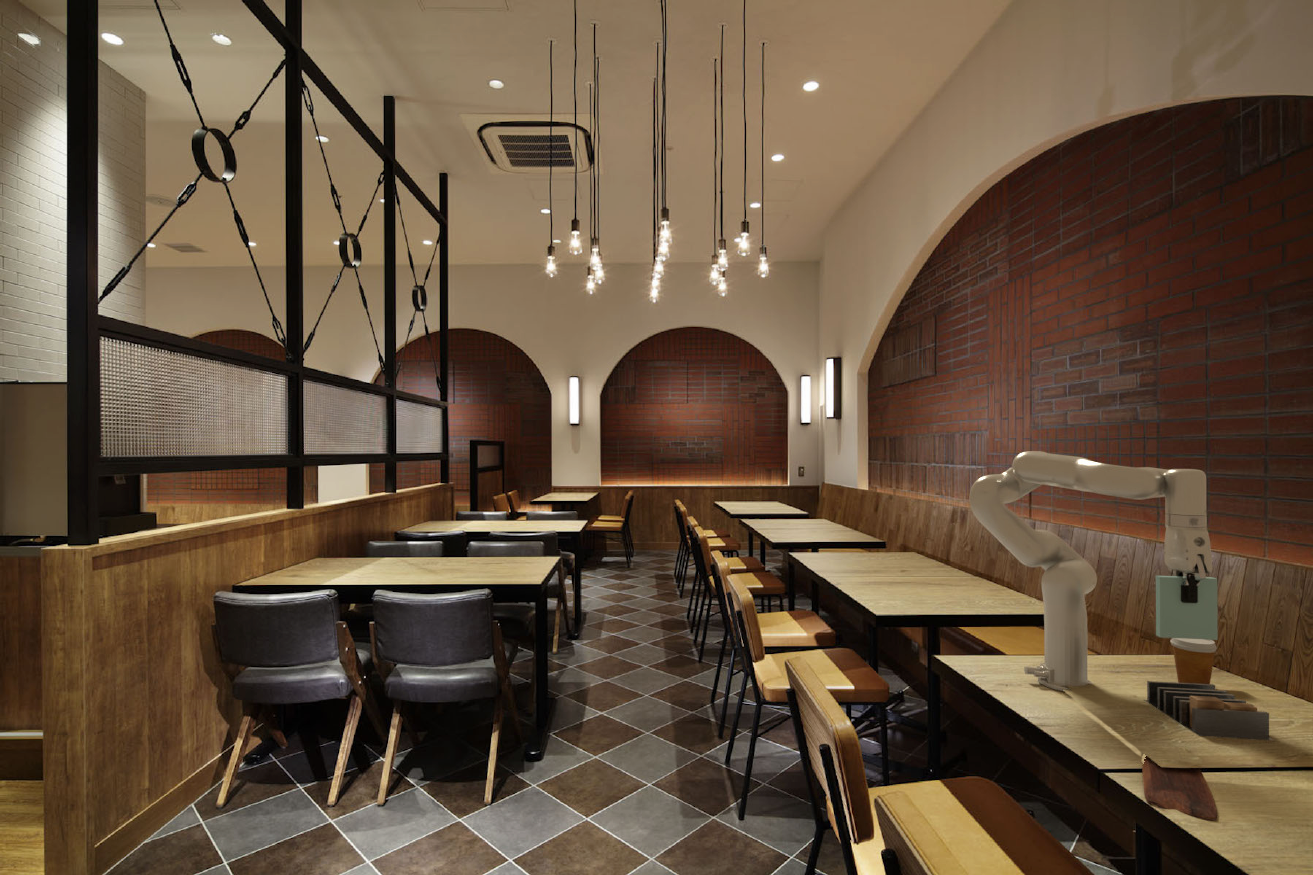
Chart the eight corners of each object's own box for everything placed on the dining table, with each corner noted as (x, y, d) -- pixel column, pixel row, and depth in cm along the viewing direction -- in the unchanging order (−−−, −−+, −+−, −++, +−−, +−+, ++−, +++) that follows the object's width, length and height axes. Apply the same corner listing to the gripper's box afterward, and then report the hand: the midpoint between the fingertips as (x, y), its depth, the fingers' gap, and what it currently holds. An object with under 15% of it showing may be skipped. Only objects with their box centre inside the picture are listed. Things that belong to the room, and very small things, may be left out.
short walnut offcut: (1230, 732, 140) (1230, 706, 140) (1222, 727, 142) (1222, 701, 142) (1257, 734, 139) (1257, 707, 139) (1248, 729, 141) (1248, 703, 142)
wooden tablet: (1139, 742, 136) (1201, 750, 130) (1141, 753, 136) (1203, 761, 130) (1143, 799, 114) (1218, 811, 109) (1145, 813, 114) (1220, 825, 108)
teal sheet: (1160, 637, 153) (1159, 576, 153) (1156, 635, 155) (1155, 575, 155) (1217, 639, 151) (1217, 578, 152) (1212, 637, 153) (1212, 577, 153)
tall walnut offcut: (1197, 730, 141) (1197, 699, 141) (1189, 725, 143) (1189, 695, 143) (1223, 732, 140) (1223, 701, 140) (1215, 727, 142) (1215, 696, 142)
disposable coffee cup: (1213, 683, 173) (1213, 637, 173) (1221, 694, 165) (1220, 646, 165) (1167, 676, 178) (1167, 632, 178) (1173, 687, 170) (1173, 640, 170)
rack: (1199, 742, 138) (1199, 711, 138) (1143, 705, 158) (1143, 678, 158) (1274, 747, 136) (1274, 715, 136) (1208, 709, 156) (1208, 681, 156)
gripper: (1227, 526, 145) (1228, 610, 145) (1181, 518, 161) (1182, 594, 160) (1189, 525, 146) (1190, 609, 146) (1148, 518, 162) (1148, 593, 161)
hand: (1186, 600), depth 153 cm, fingers closed on teal sheet, 1 cm apart
